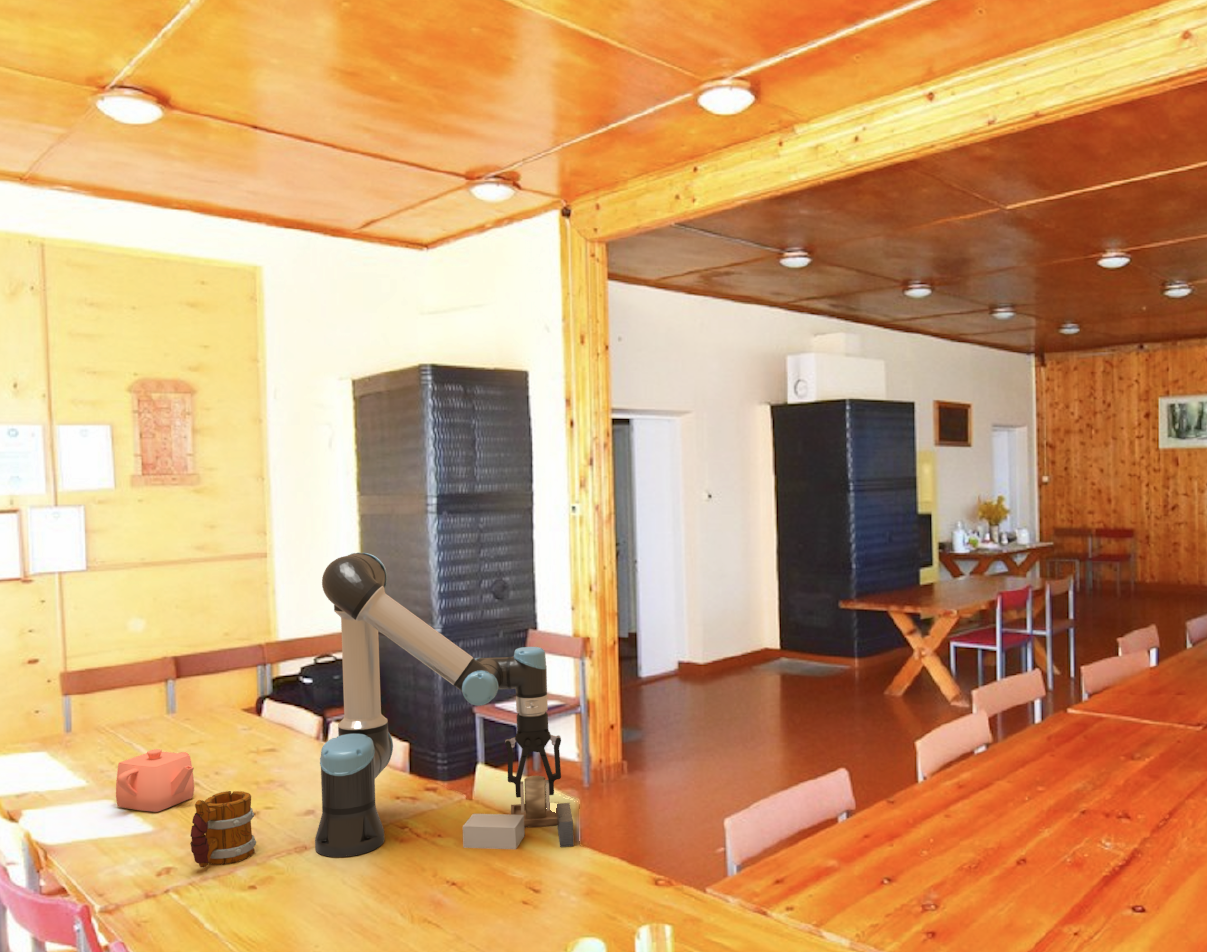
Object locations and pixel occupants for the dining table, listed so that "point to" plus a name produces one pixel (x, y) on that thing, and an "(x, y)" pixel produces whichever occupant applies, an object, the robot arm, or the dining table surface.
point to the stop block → (565, 825)
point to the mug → (222, 829)
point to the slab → (493, 831)
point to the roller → (535, 797)
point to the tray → (548, 821)
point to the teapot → (154, 781)
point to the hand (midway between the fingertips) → (535, 809)
